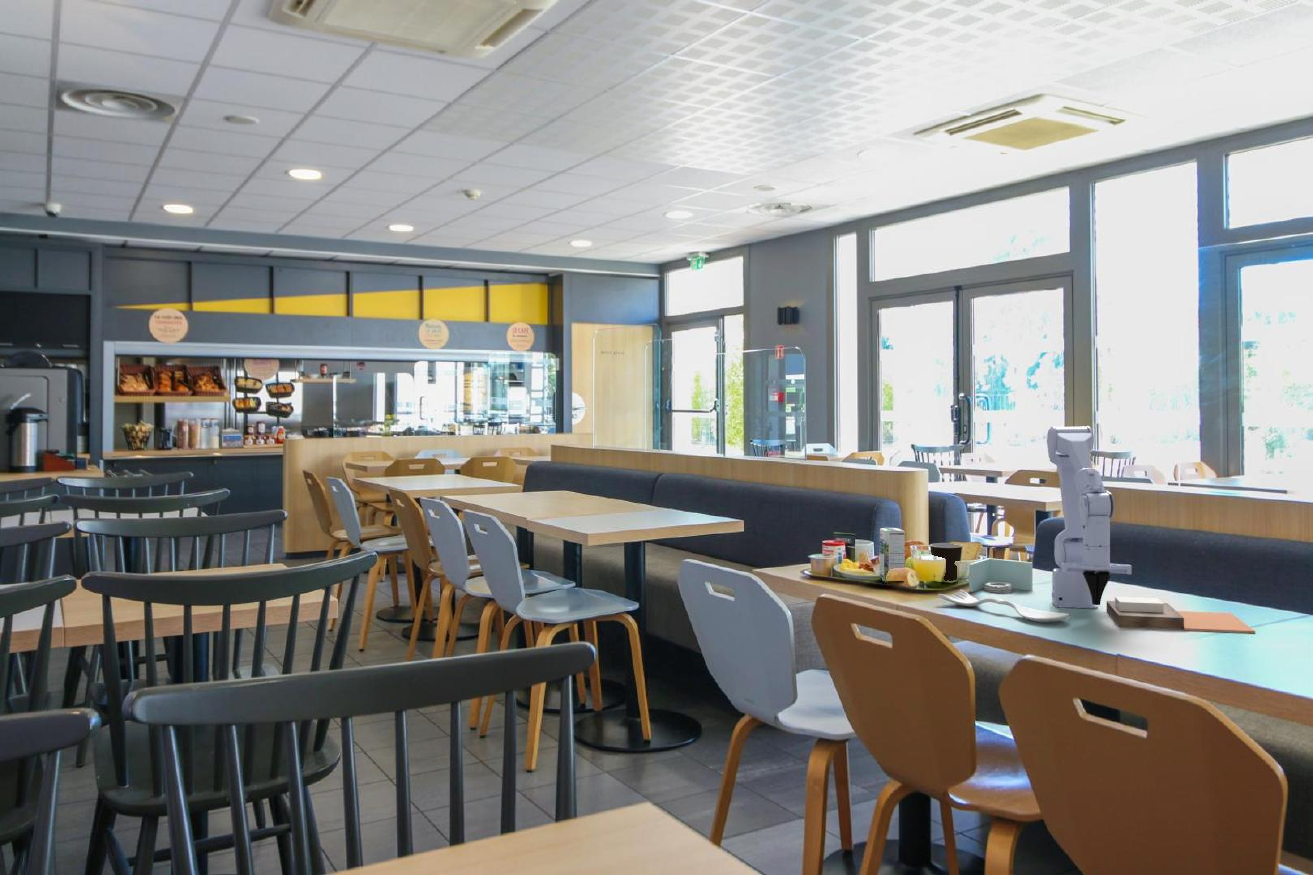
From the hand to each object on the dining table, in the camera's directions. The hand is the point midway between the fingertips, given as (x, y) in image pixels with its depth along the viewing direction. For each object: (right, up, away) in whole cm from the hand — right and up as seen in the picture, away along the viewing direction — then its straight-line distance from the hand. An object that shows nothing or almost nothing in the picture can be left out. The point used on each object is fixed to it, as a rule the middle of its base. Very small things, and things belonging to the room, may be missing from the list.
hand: (1096, 604), depth 227 cm
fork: (-19, -4, +7) cm, 20 cm away
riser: (+10, -3, -3) cm, 10 cm away
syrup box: (-35, -2, +50) cm, 61 cm away
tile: (+9, -1, -2) cm, 9 cm away
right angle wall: (-10, -3, +34) cm, 35 cm away
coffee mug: (-20, -2, +49) cm, 53 cm away
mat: (+22, -3, -6) cm, 23 cm away
